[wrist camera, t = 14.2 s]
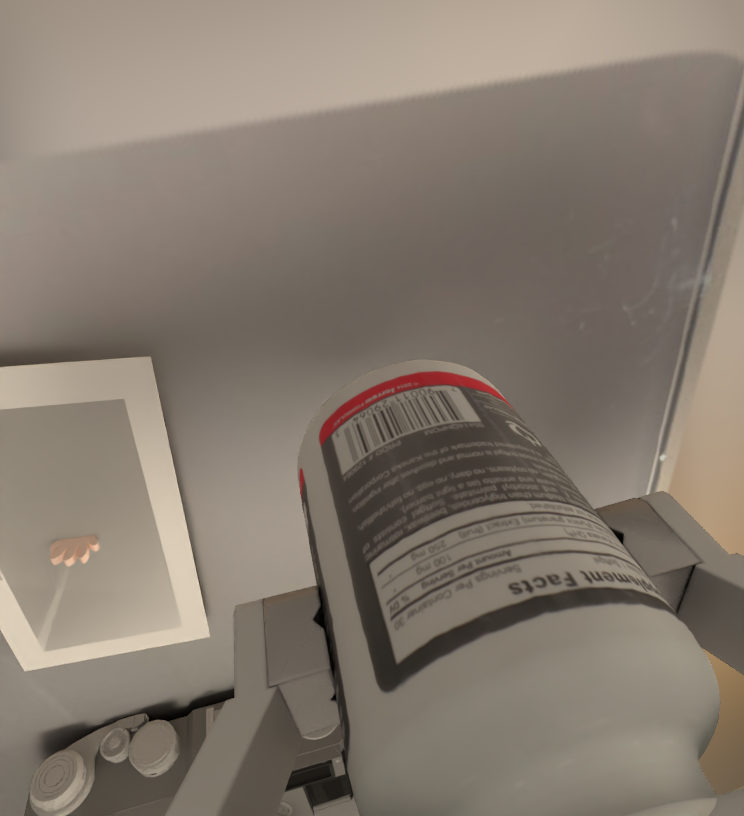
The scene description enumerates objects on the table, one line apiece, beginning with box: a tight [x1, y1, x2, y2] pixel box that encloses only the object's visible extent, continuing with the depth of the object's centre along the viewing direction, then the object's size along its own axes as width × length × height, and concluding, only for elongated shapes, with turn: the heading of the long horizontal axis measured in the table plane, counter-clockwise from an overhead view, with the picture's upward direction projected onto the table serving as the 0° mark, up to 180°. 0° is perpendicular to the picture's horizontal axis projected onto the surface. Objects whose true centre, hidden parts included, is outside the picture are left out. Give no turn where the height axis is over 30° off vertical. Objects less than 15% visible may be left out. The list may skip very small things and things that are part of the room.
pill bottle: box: [298, 360, 720, 816], centre depth 9 cm, size 5×5×10 cm
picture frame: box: [0, 356, 210, 671], centre depth 20 cm, size 8×15×2 cm, turn 177°
